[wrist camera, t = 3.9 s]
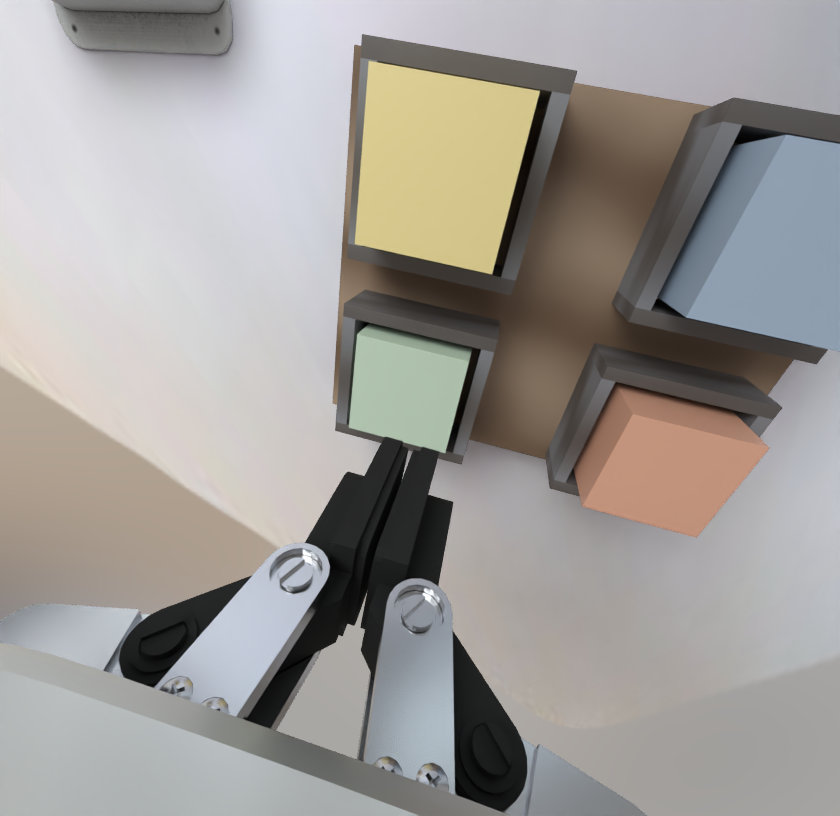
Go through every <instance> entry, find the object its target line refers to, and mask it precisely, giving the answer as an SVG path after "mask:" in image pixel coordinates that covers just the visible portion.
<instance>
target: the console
mask: <svg viewBox="0 0 840 816" xmlns="http://www.w3.org/2000/svg"><path fill="white" fill-rule="evenodd" d="M369 61H372V62H378V63H383V64H389V65H395V66H400V67H406V68H412V69H417V70H423V71H429V72H434V73H440V74H446V75H451V76H457V77H463V78H468V79H474V80H480V81H485V82H491V83H497V84H502V85H508V86H514V87H519V88H525V89H531V90H536V91H540V93H539V97H538V100H537V104H536V108H535V112H534V116H533V119H532V123H531V127H530V131H529V135H528V139H527V142H526V146H525V150H524V154H523V158H522V162H521V165H520V169H519V173H518V177H517V181H516V185H515V188H514V192H513V196H512V200H511V204H510V208H509V211H508V215H507V219H506V223H505V227H504V231H503V234H502V238H501V242H500V246H499V250H498V254H497V257H496V261H495V265H494V269H493V273H492V274H488V273H483V272H479V271H474V270H470V269H465V268H461V267H456V266H452V265H447V264H443V263H438V262H434V261H429V260H425V259H420V258H416V257H411V256H407V255H402V254H398V253H393V252H389V251H384V250H380V249H375V248H371V247H366V246H362V245H357V244H355V234H356V221H357V208H358V195H359V182H360V169H361V156H362V142H363V129H364V116H365V103H366V90H367V77H368V64H369ZM576 74H577V71H575V70H569V69H563V68H557V67H551V66H546V65H540V64H534V63H528V62H522V61H516V60H510V59H505V58H499V57H493V56H487V55H481V54H475V53H469V52H463V51H458V50H452V49H446V48H440V47H434V46H428V45H422V44H416V43H411V42H405V41H399V40H393V39H387V38H381V37H375V36H369V35H364V34H362V45H361V46H358V45H354V61H353V77H352V94H351V110H350V127H349V143H348V160H347V176H346V193H345V209H344V226H343V242H342V259H341V275H340V292H339V308H338V324H337V341H336V357H335V374H334V390H333V404H337V413H336V428H335V431H339V432H342V433H346V434H350V435H353V436H357V437H361V438H365V439H368V440H372V441H376V442H379V443H382V441H383V439H384V437H382V436H378V435H374V434H371V433H367V432H363V431H360V430H356V429H352V428H349V420H350V409H351V398H352V387H353V375H354V364H355V353H356V342H357V334H358V333H359V332H360V331H361V330H362V329H364V328H365V327H366V326H367V325H368V324H369V323H373V324H377V325H381V326H386V327H390V328H394V329H398V330H402V331H406V332H411V333H415V334H419V335H423V336H427V337H431V338H436V339H440V340H444V341H448V342H452V343H456V344H461V345H465V346H469V347H473V348H472V352H471V356H470V360H469V364H468V368H467V372H466V375H465V379H464V383H463V387H462V391H461V395H460V398H459V402H458V406H457V410H456V414H455V418H454V421H453V425H452V429H451V433H450V437H449V441H448V444H447V448H446V452H445V453H442V452H439V456H438V458H439V459H443V460H446V461H450V462H454V463H458V464H462V461H463V457H464V454H465V451H466V447H467V444H468V440H469V439H470V440H474V441H478V442H481V443H485V444H489V445H493V446H497V447H501V448H504V449H508V450H512V451H516V452H520V453H523V454H527V455H531V456H535V457H539V458H543V459H546V463H547V470H548V478H549V485H550V488H551V489H554V490H558V491H562V492H566V493H569V494H573V495H577V496H580V495H579V490H578V486H577V481H576V477H575V473H574V468H573V466H574V464H575V462H576V460H577V458H578V456H579V454H580V452H581V450H582V448H583V446H584V444H585V442H586V440H587V438H588V436H589V434H590V432H591V430H592V428H593V426H594V424H595V422H596V420H597V418H598V416H599V414H600V412H601V410H602V408H603V406H604V404H605V402H606V400H607V398H608V396H609V394H610V392H611V390H612V388H613V386H614V384H615V382H619V383H623V384H627V385H631V386H635V387H640V388H644V389H648V390H652V391H656V392H660V393H665V394H669V395H673V396H677V397H681V398H685V399H690V400H694V401H698V402H702V403H706V404H710V405H715V406H719V407H723V408H727V409H731V410H732V411H733V412H734V413H735V414H736V415H737V416H738V417H739V418H740V419H741V420H742V421H743V422H744V423H745V424H746V425H747V426H748V427H749V428H750V429H751V430H752V431H753V432H754V433H755V434H756V435H757V436H758V437H760V436H761V434H762V433H763V432H764V431H765V429H766V428H767V427H768V425H769V424H770V423H771V422H772V420H773V419H774V418H775V417H776V415H777V414H778V413H779V411H780V410H781V409H782V407H781V406H780V405H779V404H777V403H776V402H775V401H773V400H772V399H771V398H770V397H768V396H767V395H768V394H769V392H770V391H771V390H772V388H773V387H774V386H775V384H776V383H777V382H778V380H779V379H780V377H781V376H782V375H783V373H784V372H785V371H786V369H787V368H788V367H789V365H790V364H791V363H792V361H793V360H794V359H795V360H800V361H804V362H809V363H813V364H817V363H818V362H819V360H820V359H821V358H822V357H823V355H824V354H825V353H826V351H827V350H828V349H826V348H821V347H817V346H812V345H808V344H803V343H799V342H794V341H790V340H785V339H781V338H776V337H772V336H767V335H763V334H758V333H754V332H749V331H745V330H740V329H736V328H731V327H727V326H722V325H718V324H713V323H709V322H704V321H700V320H695V319H691V318H686V317H685V316H683V315H682V314H681V313H679V312H678V311H676V310H675V309H674V308H672V307H671V306H669V305H668V304H667V303H665V302H664V301H662V300H661V299H660V298H658V295H659V293H660V291H661V289H662V287H663V284H664V282H665V280H666V278H667V276H668V274H669V272H670V270H671V268H672V266H673V264H674V262H675V260H676V258H677V256H678V254H679V252H680V250H681V248H682V246H683V244H684V242H685V240H686V238H687V236H688V234H689V232H690V230H691V228H692V226H693V224H694V222H695V220H696V218H697V216H698V214H699V212H700V210H701V208H702V206H703V204H704V202H705V200H706V198H707V196H708V194H709V191H710V189H711V187H712V185H713V183H714V181H715V179H716V177H717V175H718V173H719V171H720V169H721V167H722V165H723V163H724V161H725V159H726V157H727V155H728V153H729V151H730V149H731V147H732V146H734V145H739V144H744V143H749V142H754V141H758V140H763V139H768V138H773V137H778V136H782V135H791V136H797V137H803V138H808V139H814V140H820V141H825V142H831V143H837V144H840V116H839V115H833V114H827V113H822V112H816V111H810V110H804V109H798V108H792V107H786V106H780V105H775V104H769V103H763V102H757V101H751V100H745V99H739V98H732V99H729V100H727V101H725V102H722V103H720V104H717V105H715V106H713V107H710V106H705V105H699V104H693V103H687V102H681V101H676V100H670V99H664V98H658V97H653V96H647V95H641V94H635V93H630V92H624V91H618V90H612V89H606V88H601V87H595V86H589V85H583V84H578V83H574V81H575V77H576ZM403 446H404V447H408V450H409V451H413V450H414V449H415V450H418V451H421V448H422V447H419V446H416V445H412V444H408V443H404V442H403Z"/></svg>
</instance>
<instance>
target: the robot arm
mask: <svg viewBox="0 0 840 816" xmlns="http://www.w3.org/2000/svg"><path fill="white" fill-rule="evenodd" d="M439 452H440V451H436V450H433V449H429V448H426V447H422V448H421V451H418V450H415V449H414V450H413V453H412V455H411V458H410V461H409V463H408V466H407V469H406V471H405V474H404V477H403V472H404V468H405V463H406V458H407V454H408V447H404V446H403V441H401V440H397V439H393V438H390V437H386V436H385V437H384V439H383V441H382V443H381V445H380V447H379V449H378V451H377V453H376V455H375V457H374V459H373V461H372V463H371V464H370V466H369V468H368V470H367V472H366V474H365V476H362V475H358V474H355V473H351V472H347V473H346V474H345V475H344V477H343V479H342V480H341V482H340V484H339V485H338V487H337V489H336V490H335V492H334V494H333V496H332V497H331V499H330V501H329V502H328V504H327V506H326V508H325V509H324V511H323V513H322V514H321V516H320V518H319V520H318V521H317V523H316V525H315V526H314V528H313V530H312V532H311V533H310V535H309V537H308V538H307V540H306V542H305V543H294V544H289V545H286V546H284V547H282V548H280V549H278V550H276V551H275V552H274V553H273V554H272V555H270V556H269V557H268V559H267V560H266V561H265V562H264V563H263V564H262V565H261V566H260V568H259V569H258V570H257V571H256V572H255V573H254V574H253V575H252V576H250V577H247V578H244V579H241V580H239V581H236V582H233V583H231V584H228V585H225V586H223V587H220V588H217V589H215V590H212V591H209V592H207V593H204V594H201V595H199V596H196V597H194V598H191V599H188V600H186V601H183V602H180V603H178V604H175V605H172V606H169V607H167V608H164V609H161V610H159V611H157V612H155V613H153V614H151V615H150V614H141V612H140V610H139V609H124V608H108V607H93V606H77V605H62V604H39V605H32V606H29V607H27V608H23V609H21V610H18V611H16V612H14V613H12V614H11V615H9V616H7V617H6V618H4V619H2V620H1V621H0V816H647V815H645V813H643V812H642V811H641V810H640V809H639V808H638V807H637V806H635V805H634V804H633V803H631V802H630V801H628V800H626V799H625V798H623V797H622V796H620V795H619V794H617V793H616V792H614V791H612V790H611V789H609V788H607V787H606V786H604V785H603V784H601V783H600V782H598V781H596V780H595V779H593V778H592V777H590V776H589V775H587V774H586V773H584V772H583V771H581V770H579V769H578V768H576V767H575V766H573V765H572V764H570V763H568V762H567V761H565V760H564V759H562V758H561V757H559V756H557V755H556V754H554V753H553V752H551V751H549V750H548V749H546V748H545V747H543V746H542V745H540V744H539V745H538V746H537V747H535V746H534V745H532V744H531V743H529V742H527V741H526V740H524V739H523V738H521V737H520V735H519V733H518V731H517V729H516V727H515V726H514V724H513V723H512V721H511V720H510V718H509V716H508V715H507V713H506V712H505V710H504V709H503V707H502V706H501V704H500V703H499V701H498V699H497V698H496V697H495V695H494V693H493V692H492V690H491V689H490V687H489V686H488V684H487V683H486V681H485V679H484V678H483V676H482V675H481V673H480V672H479V670H478V669H477V667H476V666H475V664H474V663H473V661H472V660H471V658H470V656H469V655H468V653H467V652H466V650H465V649H464V647H463V646H462V644H461V643H460V641H459V640H458V638H457V636H456V635H455V633H454V632H453V623H452V609H451V604H450V602H449V600H448V598H447V596H446V594H445V593H444V592H443V591H442V590H441V588H440V587H438V583H439V578H440V572H441V567H442V562H443V556H444V551H445V545H446V540H447V534H448V529H449V524H450V518H451V513H452V507H453V502H451V501H448V500H444V499H441V498H437V497H434V496H431V495H428V493H429V489H430V485H431V481H432V478H433V474H434V470H435V467H436V463H437V459H438V456H439ZM402 477H403V479H402ZM367 590H368V591H367ZM366 593H367V596H366ZM365 596H366V601H365V606H364V612H363V617H362V622H361V628H363V629H365V633H364V637H363V642H362V648H361V652H362V654H363V656H364V658H365V660H366V663H367V665H368V667H369V669H370V675H369V682H368V688H367V695H366V701H365V708H364V714H363V721H362V727H361V734H360V740H359V747H358V754H357V759H354V758H351V757H348V756H345V755H343V754H340V753H337V752H334V751H331V750H328V749H325V748H323V747H320V746H317V745H314V744H312V743H308V742H306V741H303V740H300V739H297V738H294V737H291V736H289V735H286V734H283V733H280V732H278V731H276V730H277V728H278V726H279V725H280V723H281V721H282V719H283V718H284V716H285V714H286V713H287V711H288V709H289V707H290V705H291V704H292V702H293V700H294V699H295V696H296V695H297V693H298V692H299V690H300V688H301V686H302V685H303V683H304V681H305V679H306V678H307V676H308V674H309V672H310V671H311V669H312V667H313V665H314V664H315V662H316V660H317V659H318V656H319V654H320V651H321V650H322V649H324V648H326V647H327V646H329V645H331V644H333V643H335V642H336V640H337V638H338V635H341V636H343V634H344V631H345V628H346V626H347V624H351V625H355V623H356V620H357V618H358V615H359V612H360V610H361V607H362V604H363V601H364V599H365Z"/></svg>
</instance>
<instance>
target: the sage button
mask: <svg viewBox="0 0 840 816" xmlns="http://www.w3.org/2000/svg"><path fill="white" fill-rule="evenodd" d="M472 348H473V347H469V346H465V345H461V344H456V343H452V342H448V341H444V340H440V339H436V338H431V337H427V336H423V335H419V334H415V333H411V332H406V331H402V330H398V329H394V328H390V327H386V326H381V325H377V324H373V323H369V324H368V325H367V326H366V327H365V328H364V329H362V330H361V331H360V332H359V333H358V334H357V342H356V353H355V364H354V375H353V387H352V398H351V409H350V420H349V428H352V429H356V430H360V431H363V432H367V433H371V434H374V435H378V436H382V437H385V436H386V437H390V438H393V439H397V440H401V441H403V442H404V443H408V444H412V445H416V446H419V447H426V448H429V449H433V450H436V451H440V452H442V453H445V452H446V448H447V444H448V441H449V437H450V433H451V429H452V425H453V421H454V418H455V414H456V410H457V406H458V402H459V398H460V395H461V391H462V387H463V383H464V379H465V375H466V372H467V368H468V364H469V360H470V356H471V352H472Z"/></svg>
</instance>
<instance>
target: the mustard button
mask: <svg viewBox="0 0 840 816" xmlns="http://www.w3.org/2000/svg"><path fill="white" fill-rule="evenodd" d="M539 93H540V91H536V90H531V89H525V88H519V87H514V86H508V85H502V84H497V83H491V82H485V81H480V80H474V79H468V78H463V77H457V76H451V75H446V74H440V73H434V72H429V71H423V70H417V69H412V68H406V67H400V66H395V65H389V64H383V63H378V62H372V61H369V64H368V77H367V90H366V103H365V116H364V129H363V142H362V156H361V169H360V182H359V195H358V208H357V221H356V234H355V244H357V245H362V246H366V247H371V248H375V249H380V250H384V251H389V252H393V253H398V254H402V255H407V256H411V257H416V258H420V259H425V260H429V261H434V262H438V263H443V264H447V265H452V266H456V267H461V268H465V269H470V270H474V271H479V272H483V273H488V274H492V273H493V269H494V265H495V261H496V257H497V254H498V250H499V246H500V242H501V238H502V234H503V231H504V227H505V223H506V219H507V215H508V211H509V208H510V204H511V200H512V196H513V192H514V188H515V185H516V181H517V177H518V173H519V169H520V165H521V162H522V158H523V154H524V150H525V146H526V142H527V139H528V135H529V131H530V127H531V123H532V119H533V116H534V112H535V108H536V104H537V100H538V97H539Z"/></svg>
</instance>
